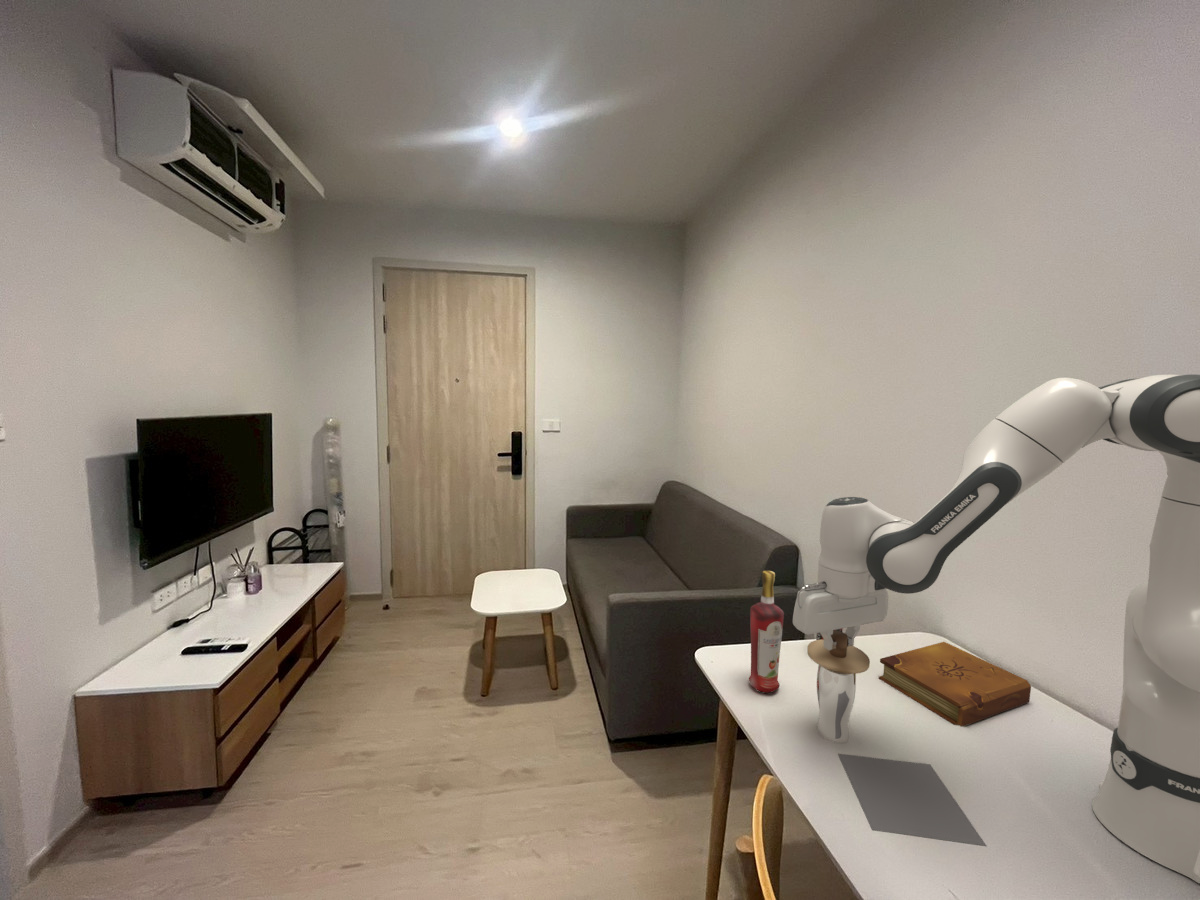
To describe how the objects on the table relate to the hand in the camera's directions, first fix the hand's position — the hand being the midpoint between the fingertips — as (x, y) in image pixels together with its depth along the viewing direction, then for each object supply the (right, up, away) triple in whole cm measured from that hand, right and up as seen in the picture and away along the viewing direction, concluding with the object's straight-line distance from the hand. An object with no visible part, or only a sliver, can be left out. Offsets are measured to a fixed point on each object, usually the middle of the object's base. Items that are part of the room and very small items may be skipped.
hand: (838, 646), depth 92 cm
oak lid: (0, -2, 0) cm, 2 cm away
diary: (+35, -18, +17) cm, 42 cm away
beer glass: (0, -19, +2) cm, 19 cm away
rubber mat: (+5, -20, -13) cm, 24 cm away
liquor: (-9, -17, +18) cm, 26 cm away
